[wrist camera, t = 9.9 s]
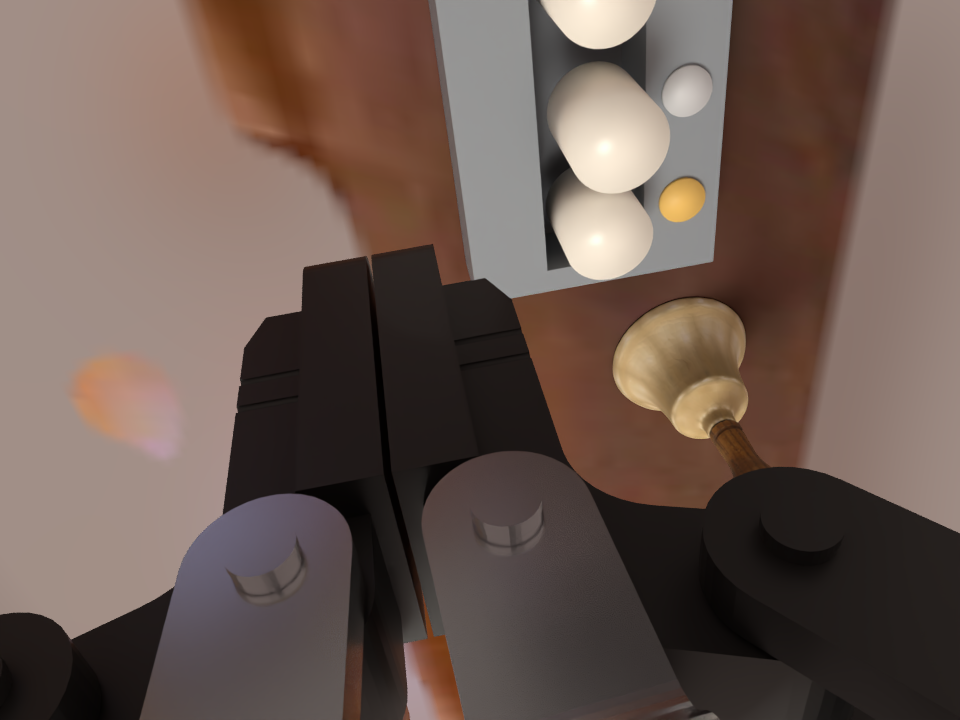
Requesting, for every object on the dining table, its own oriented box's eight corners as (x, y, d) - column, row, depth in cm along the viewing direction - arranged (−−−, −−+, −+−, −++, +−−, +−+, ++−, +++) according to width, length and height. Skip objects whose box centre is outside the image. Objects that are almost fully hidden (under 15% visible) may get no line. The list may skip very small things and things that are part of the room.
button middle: (543, 69, 33) (566, 104, 30) (638, 53, 33) (672, 86, 30) (549, 160, 36) (571, 201, 33) (638, 145, 36) (668, 184, 33)
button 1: (543, 169, 38) (562, 208, 35) (626, 155, 38) (654, 192, 35) (548, 244, 40) (567, 286, 37) (626, 230, 40) (652, 271, 37)
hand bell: (645, 285, 46) (766, 489, 33) (768, 309, 48) (924, 509, 36) (591, 397, 50) (680, 614, 38) (706, 414, 53) (825, 623, 40)
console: (410, -126, 32) (420, -110, 29) (704, -171, 33) (747, -161, 29) (466, 263, 43) (478, 306, 40) (684, 224, 44) (714, 263, 40)
